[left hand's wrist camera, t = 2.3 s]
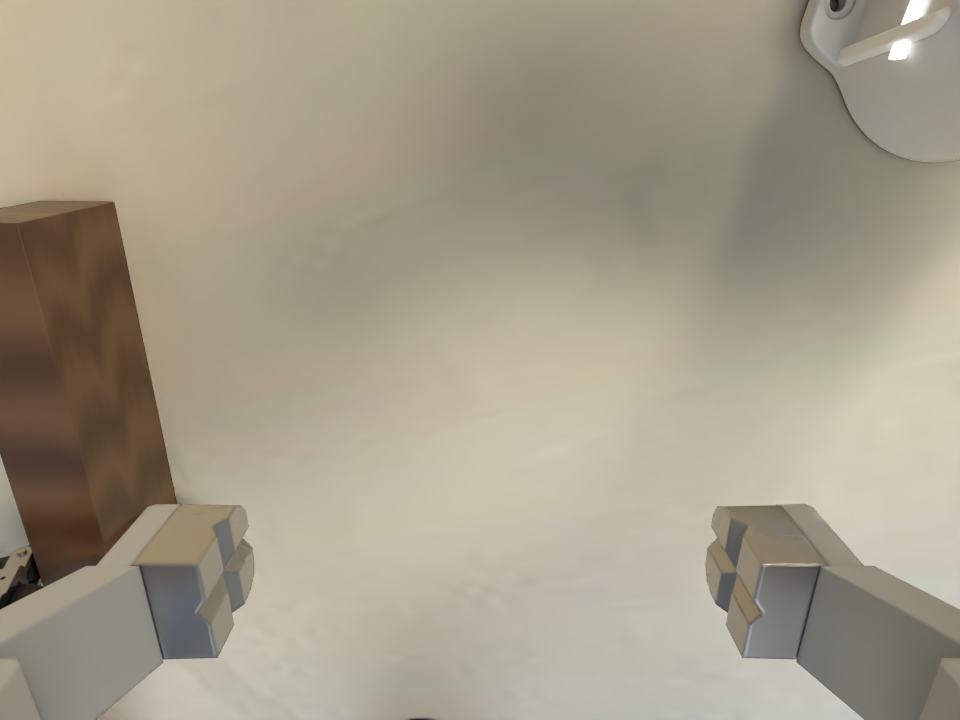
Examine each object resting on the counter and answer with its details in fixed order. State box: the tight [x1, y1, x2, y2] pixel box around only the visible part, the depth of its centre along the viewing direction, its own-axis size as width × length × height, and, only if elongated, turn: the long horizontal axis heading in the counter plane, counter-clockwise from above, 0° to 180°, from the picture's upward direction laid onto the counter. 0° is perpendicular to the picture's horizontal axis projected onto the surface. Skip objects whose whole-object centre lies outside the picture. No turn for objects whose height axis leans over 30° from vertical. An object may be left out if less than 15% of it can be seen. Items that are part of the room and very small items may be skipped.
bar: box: [0, 201, 177, 587], centre depth 39 cm, size 25×5×8 cm, turn 179°
